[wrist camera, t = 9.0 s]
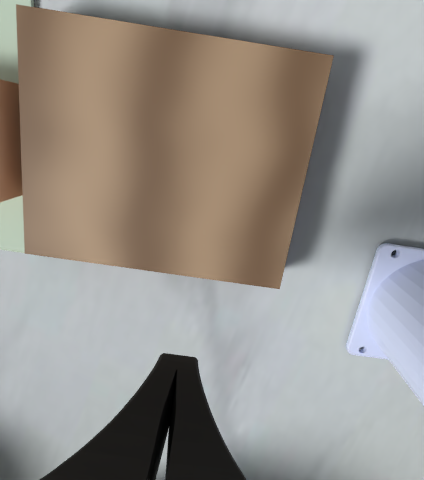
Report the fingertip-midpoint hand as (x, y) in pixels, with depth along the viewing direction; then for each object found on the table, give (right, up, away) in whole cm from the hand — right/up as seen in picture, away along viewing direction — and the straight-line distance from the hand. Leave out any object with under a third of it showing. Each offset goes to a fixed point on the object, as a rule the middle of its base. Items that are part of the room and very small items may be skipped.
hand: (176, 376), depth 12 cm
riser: (-1, +10, +7) cm, 12 cm away
